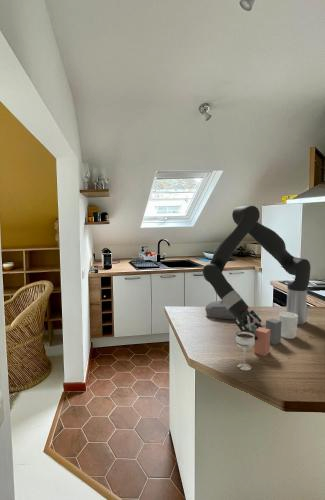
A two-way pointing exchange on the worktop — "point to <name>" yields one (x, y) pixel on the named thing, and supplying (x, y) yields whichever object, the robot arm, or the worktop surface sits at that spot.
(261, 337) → the red pillar
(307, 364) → the worktop surface
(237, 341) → the wineglass
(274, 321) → the charcoal pillar
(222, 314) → the grey rounded bag
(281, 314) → the white cup
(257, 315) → the green pillar
